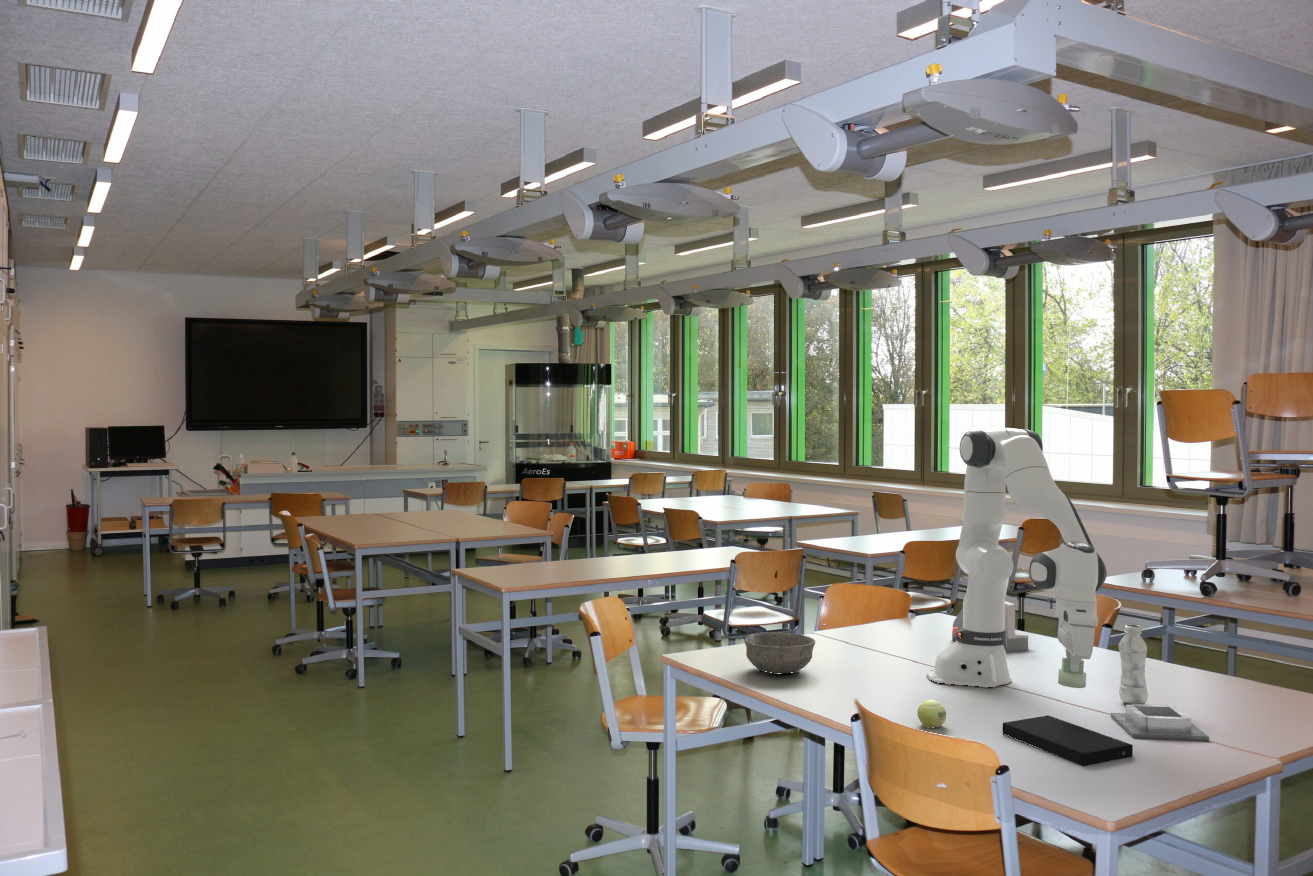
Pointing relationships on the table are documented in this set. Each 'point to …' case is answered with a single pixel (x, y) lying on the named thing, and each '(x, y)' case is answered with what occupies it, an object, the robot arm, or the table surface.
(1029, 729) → the external hard drive
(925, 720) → the tennis ball
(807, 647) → the bowl
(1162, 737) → the cap socket
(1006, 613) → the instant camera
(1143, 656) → the plastic bottle
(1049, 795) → the table surface
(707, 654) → the table surface
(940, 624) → the table surface
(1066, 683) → the stepped sage green block
